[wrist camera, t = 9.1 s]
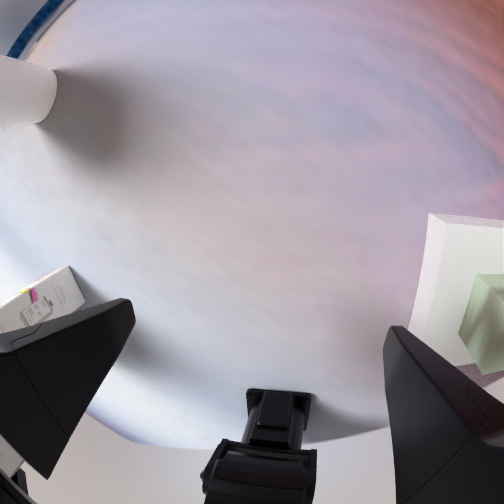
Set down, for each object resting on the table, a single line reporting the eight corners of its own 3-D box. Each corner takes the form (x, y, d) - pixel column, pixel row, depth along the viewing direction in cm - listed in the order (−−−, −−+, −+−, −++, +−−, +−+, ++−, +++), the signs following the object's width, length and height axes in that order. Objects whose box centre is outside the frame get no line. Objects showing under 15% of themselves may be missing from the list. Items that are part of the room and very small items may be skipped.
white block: (497, 339, 18) (509, 356, 16) (401, 348, 21) (409, 370, 18) (530, 224, 14) (549, 233, 12) (428, 213, 17) (446, 223, 14)
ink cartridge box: (54, 311, 30) (-20, 370, 16) (38, 278, 28) (-42, 330, 15) (88, 303, 27) (-3, 379, 13) (69, 263, 26) (-32, 328, 12)
